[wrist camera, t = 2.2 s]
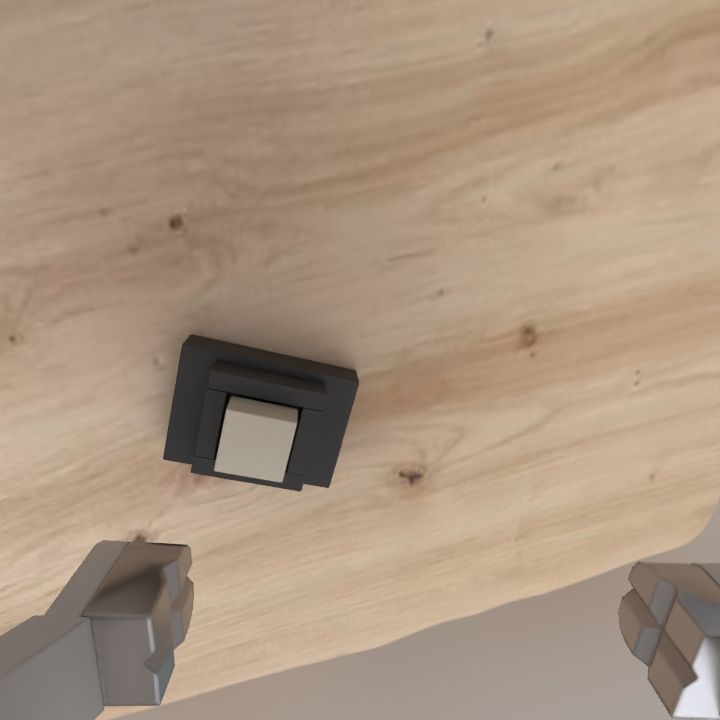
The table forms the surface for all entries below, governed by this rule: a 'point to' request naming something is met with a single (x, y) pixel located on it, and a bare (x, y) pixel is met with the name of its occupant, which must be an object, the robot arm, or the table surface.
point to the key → (256, 439)
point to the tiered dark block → (266, 384)
